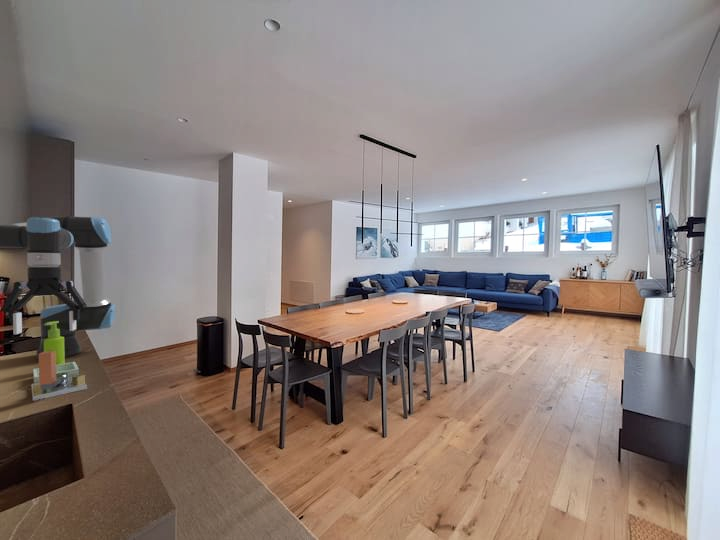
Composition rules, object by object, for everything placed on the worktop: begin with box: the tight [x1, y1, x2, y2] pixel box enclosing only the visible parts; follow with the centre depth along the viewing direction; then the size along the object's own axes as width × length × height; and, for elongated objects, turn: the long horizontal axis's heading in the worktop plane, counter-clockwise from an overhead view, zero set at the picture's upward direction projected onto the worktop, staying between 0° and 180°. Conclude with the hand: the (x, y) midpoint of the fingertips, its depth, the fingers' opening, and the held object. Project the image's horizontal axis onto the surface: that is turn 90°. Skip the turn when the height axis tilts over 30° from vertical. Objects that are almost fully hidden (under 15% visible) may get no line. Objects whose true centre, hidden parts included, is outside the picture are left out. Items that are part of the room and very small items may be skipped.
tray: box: [32, 361, 80, 384], centre depth 117 cm, size 12×12×4 cm
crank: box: [38, 351, 68, 390], centre depth 104 cm, size 11×4×13 cm, turn 23°
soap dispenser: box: [44, 321, 66, 365], centre depth 123 cm, size 6×7×20 cm
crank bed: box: [31, 373, 88, 402], centre depth 107 cm, size 14×13×4 cm
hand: (46, 331), depth 100 cm, fingers open, 13 cm apart
